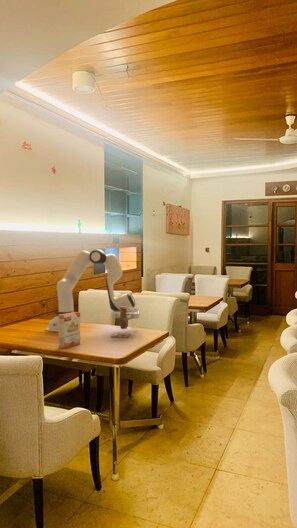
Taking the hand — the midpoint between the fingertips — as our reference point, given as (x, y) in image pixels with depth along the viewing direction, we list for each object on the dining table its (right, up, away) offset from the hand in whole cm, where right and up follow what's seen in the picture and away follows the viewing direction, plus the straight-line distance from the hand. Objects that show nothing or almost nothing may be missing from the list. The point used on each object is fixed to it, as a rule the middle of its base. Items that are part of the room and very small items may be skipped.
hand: (123, 317), depth 272 cm
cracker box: (-33, -15, -23) cm, 43 cm away
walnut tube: (0, -8, +1) cm, 8 cm away
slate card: (-2, -14, +2) cm, 14 cm away
